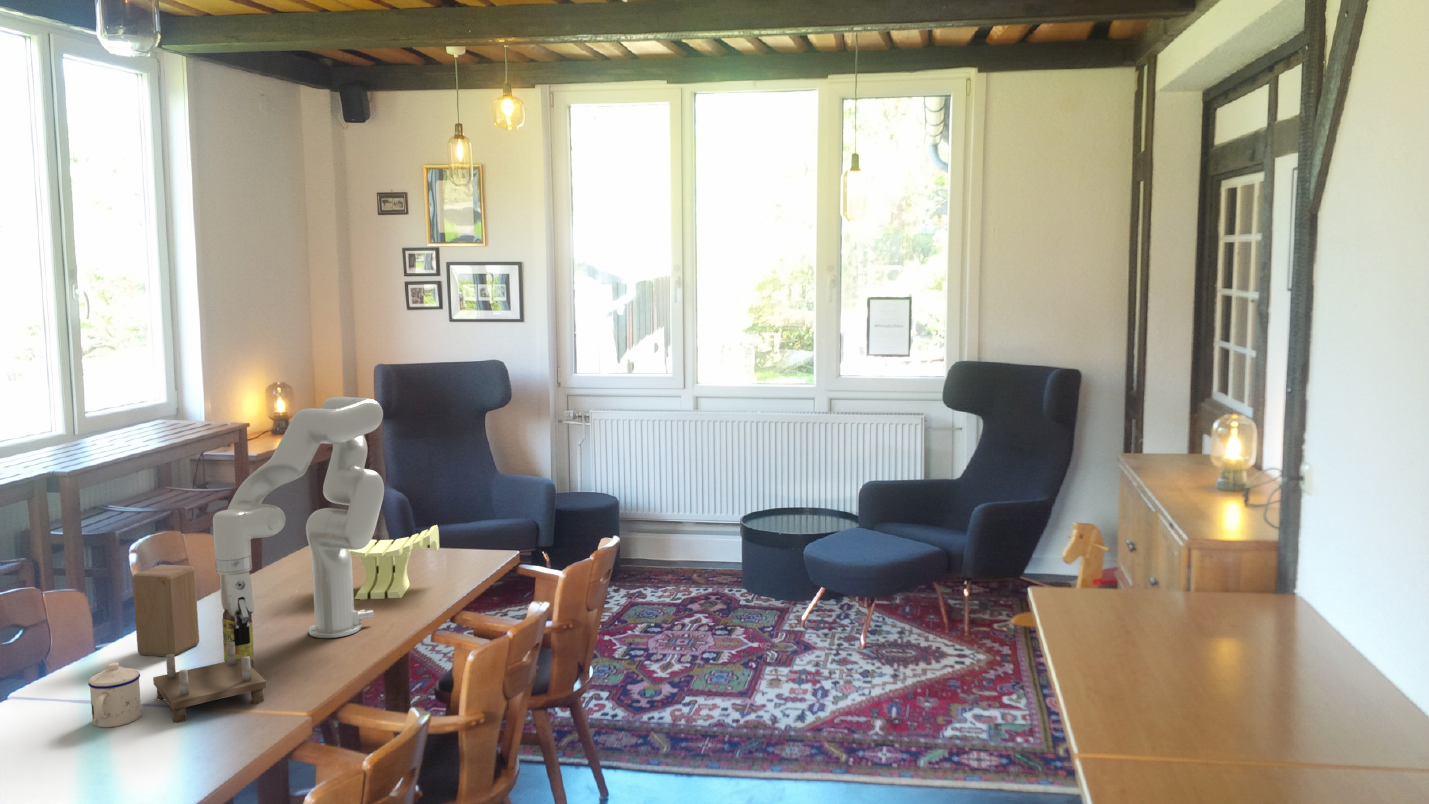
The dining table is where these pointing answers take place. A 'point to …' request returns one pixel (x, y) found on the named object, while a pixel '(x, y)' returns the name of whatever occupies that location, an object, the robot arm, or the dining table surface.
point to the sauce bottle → (229, 637)
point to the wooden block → (165, 610)
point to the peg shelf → (208, 683)
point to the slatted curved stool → (391, 563)
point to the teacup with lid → (115, 696)
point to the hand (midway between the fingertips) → (238, 639)
